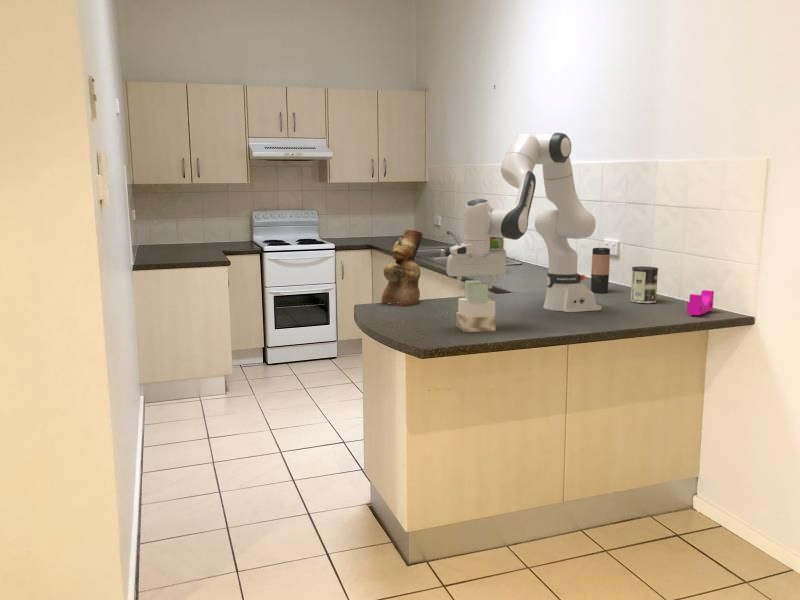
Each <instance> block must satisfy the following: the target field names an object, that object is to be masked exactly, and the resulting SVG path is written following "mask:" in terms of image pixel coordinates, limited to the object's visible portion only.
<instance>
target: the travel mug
mask: <svg viewBox="0 0 800 600" xmlns="http://www.w3.org/2000/svg"><path fill="white" fill-rule="evenodd" d="M591 257H592V258H591V271H590V272H591V273H590V274H591V275H590V277H591V278H590V279H591V280H590V290H591V291H592V292H593V293H594V294H601V295H603V294H604V295H605V294H608V290H609V281H610V263H611V262H610V261H611V260H610V259H611V248H609V247H593V248H592V255H591Z"/></svg>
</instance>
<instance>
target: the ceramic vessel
mask: <svg viewBox="0 0 800 600" xmlns="http://www.w3.org/2000/svg"><path fill="white" fill-rule="evenodd" d="M422 238H423V232H422V231H419V230H415V229H406V230H404V232H403V236H402V237H398V240H397V241H396V242H394V245H393V247H392V256H393V257H392V258H393V260H392V261H390V262H389V263H387V264H385V266H384V267H383V276H384V278H385V279H386V280H387V281H388V283H387V285H386V287H385V288H384V291H383V293H382V294H381V298H380V299H381V304H382V305H385V304H384V303H391V305H390V306H394V307H410V306H415V305H417V304H418V303H419V301H420V297H421V291H420V287H419V281H420V278H421V268H420V266H419V265H418V263H416V262H415V260H416V259H415V258H416V256H417V253H418V250H419V249H420V245H421V243H422ZM397 302H399V303H397Z"/></svg>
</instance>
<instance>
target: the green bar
mask: <svg viewBox="0 0 800 600" xmlns="http://www.w3.org/2000/svg"><path fill="white" fill-rule="evenodd" d="M464 284H465V289H464V298H466V299H467V300H469V301H470V302H472V303H488V299H489V289H488V285H487V283H485V282H483V281H481V280H465V281H464Z"/></svg>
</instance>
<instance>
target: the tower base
mask: <svg viewBox="0 0 800 600" xmlns="http://www.w3.org/2000/svg"><path fill="white" fill-rule="evenodd" d="M496 325H497V317H496V316H495V317H478V318H466V317H464V316H463V315H461V314H460V313H458V311H456V312H455V326H456V327H457V328H458V329H459V330H460V331H462V332H463V333H472V332H473V333H475V332H495V331H496Z"/></svg>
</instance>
